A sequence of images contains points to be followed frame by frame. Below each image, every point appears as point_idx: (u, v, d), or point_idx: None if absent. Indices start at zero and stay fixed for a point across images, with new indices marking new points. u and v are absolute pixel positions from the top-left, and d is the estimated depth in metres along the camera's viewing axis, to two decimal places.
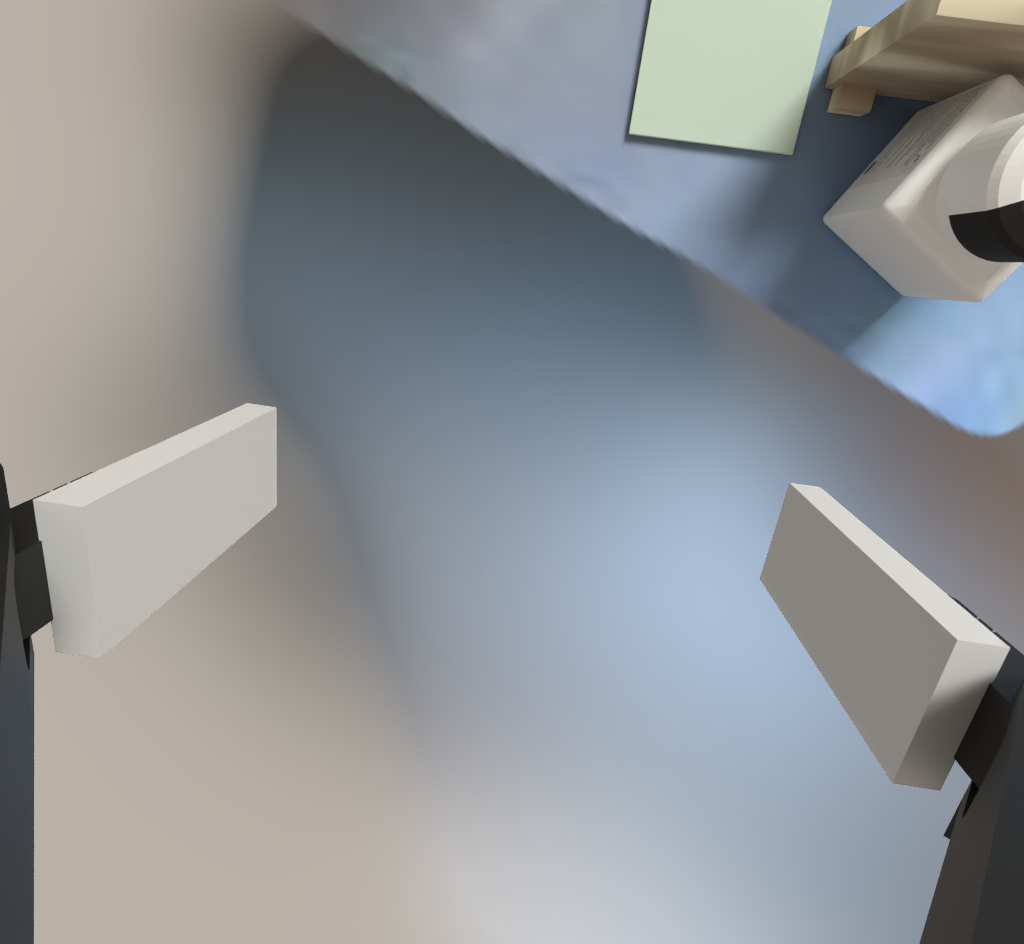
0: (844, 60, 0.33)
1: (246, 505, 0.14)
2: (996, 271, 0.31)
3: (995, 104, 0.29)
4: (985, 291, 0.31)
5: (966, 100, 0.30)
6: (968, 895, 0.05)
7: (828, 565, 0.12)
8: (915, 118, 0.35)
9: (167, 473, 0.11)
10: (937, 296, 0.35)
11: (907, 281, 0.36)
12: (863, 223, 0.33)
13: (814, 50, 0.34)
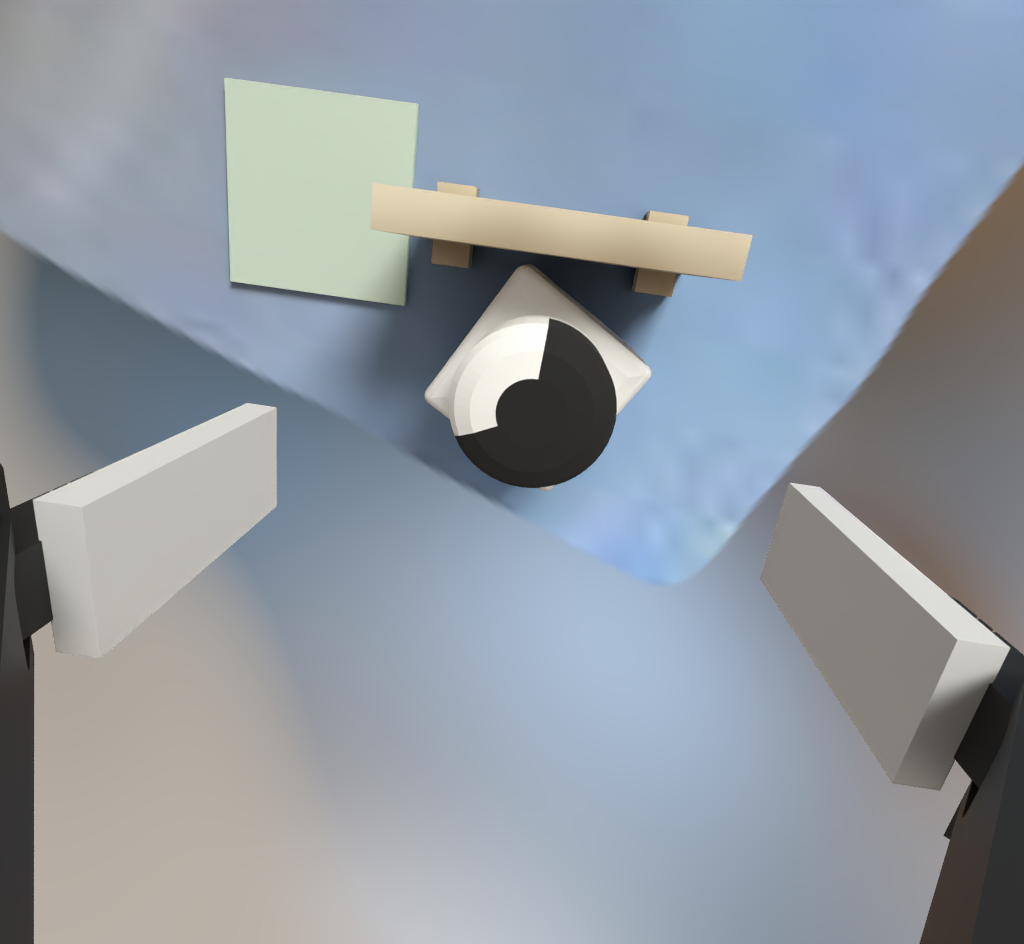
0: None
1: (246, 505, 0.14)
2: None
3: (512, 298, 0.26)
4: None
5: None
6: (968, 895, 0.05)
7: (828, 565, 0.12)
8: None
9: (167, 473, 0.11)
10: None
11: None
12: None
13: None
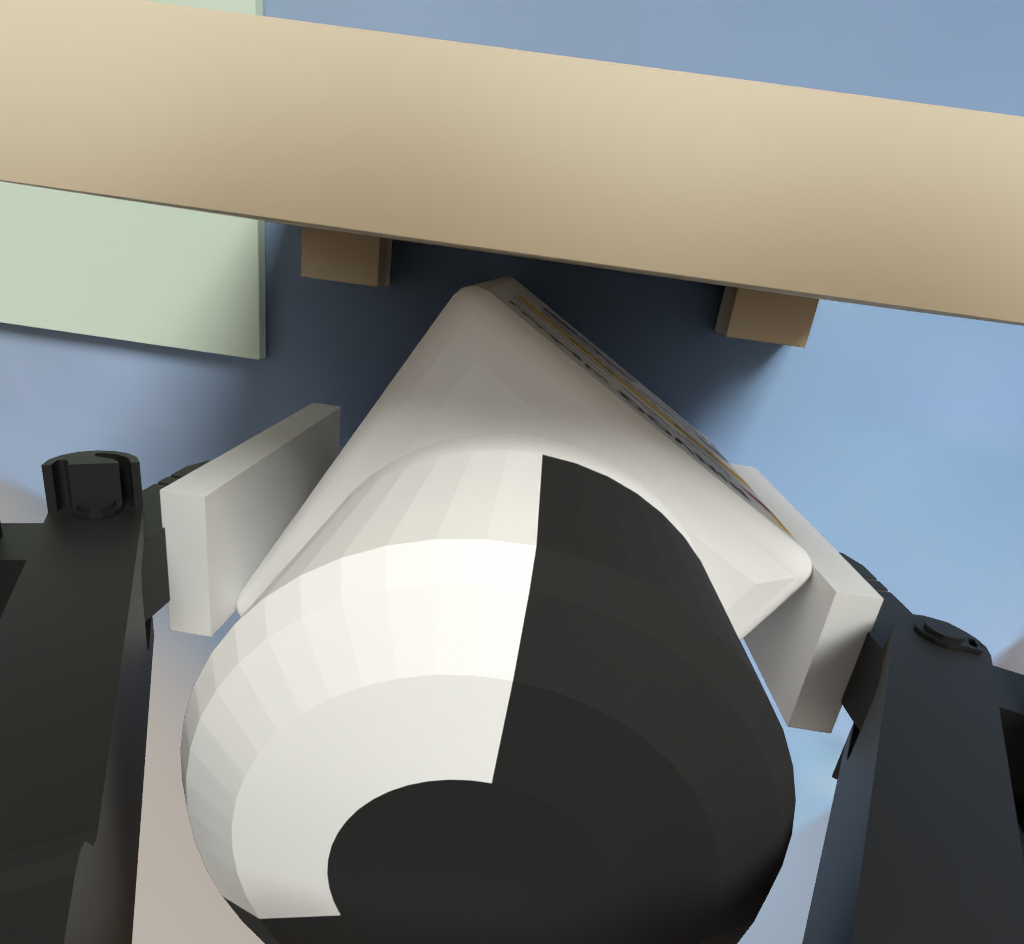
0: None
1: None
2: None
3: (442, 378, 0.09)
4: None
5: None
6: (855, 835, 0.06)
7: None
8: None
9: (262, 467, 0.12)
10: None
11: None
12: None
13: None
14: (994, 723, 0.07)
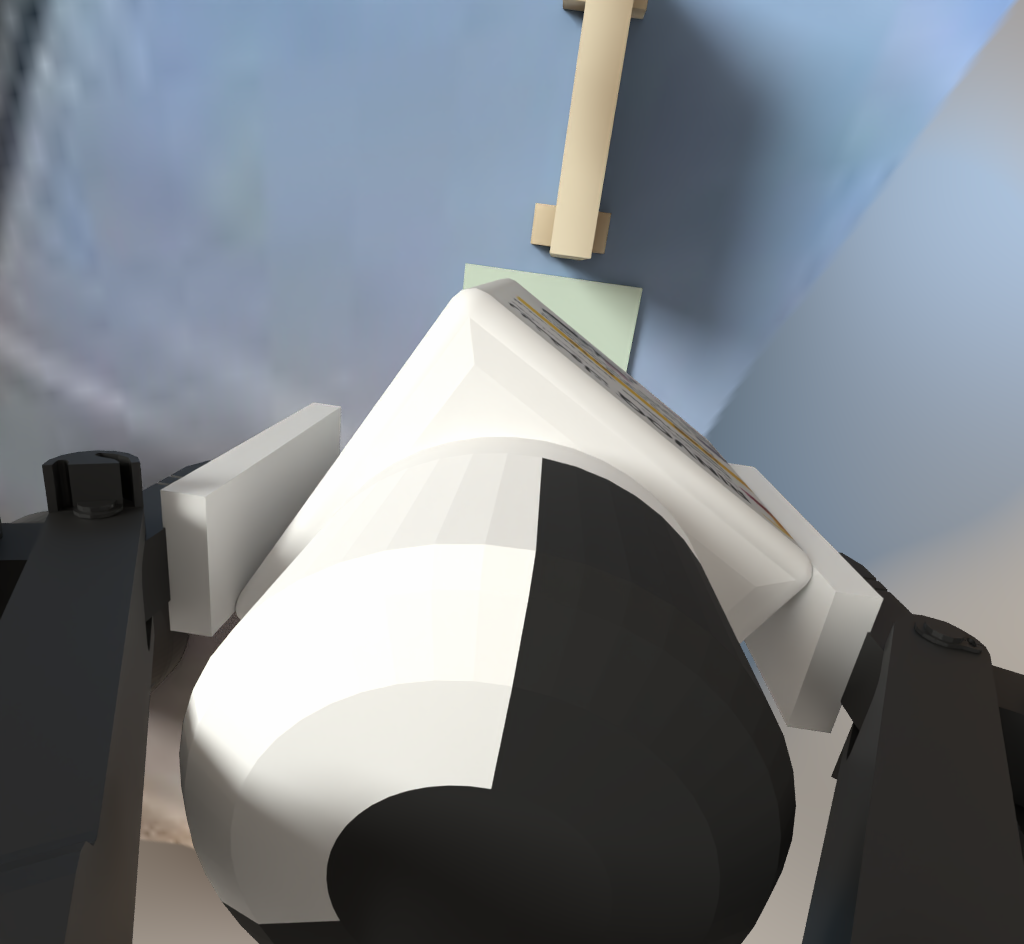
0: None
1: None
2: None
3: (441, 380, 0.09)
4: None
5: None
6: (854, 835, 0.06)
7: None
8: None
9: (263, 467, 0.12)
10: None
11: None
12: None
13: (546, 279, 0.33)
14: (993, 722, 0.07)
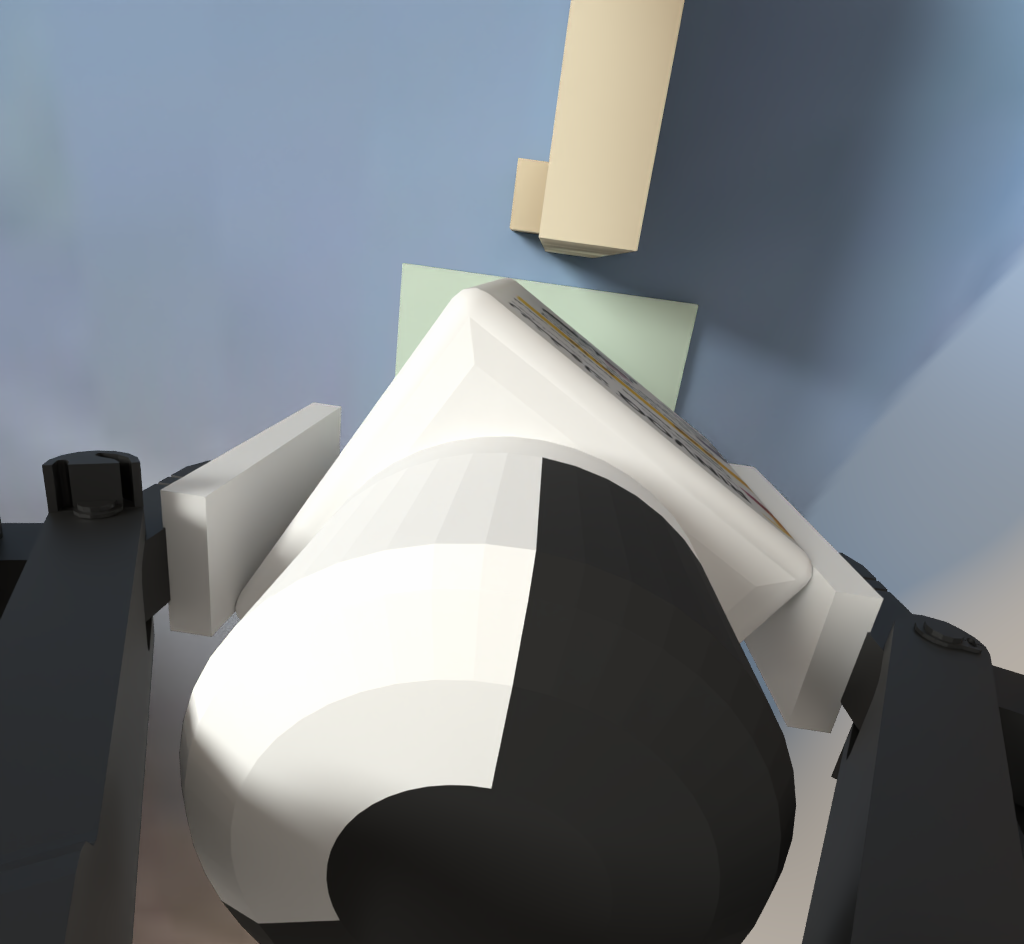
0: (568, 253, 0.18)
1: None
2: None
3: (441, 380, 0.09)
4: None
5: None
6: (855, 835, 0.06)
7: None
8: None
9: (263, 467, 0.12)
10: None
11: None
12: None
13: (538, 290, 0.20)
14: (993, 722, 0.07)
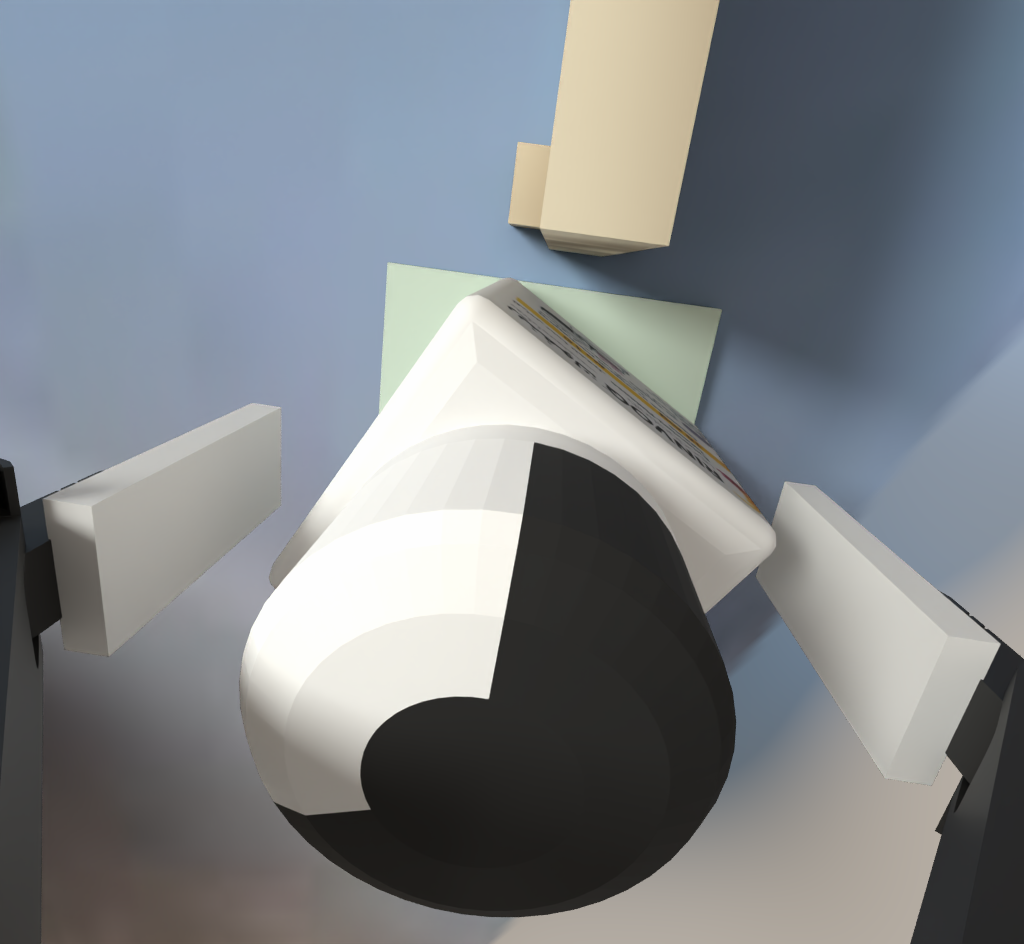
0: (575, 251, 0.16)
1: (251, 504, 0.14)
2: None
3: (448, 375, 0.11)
4: None
5: None
6: (960, 890, 0.05)
7: (822, 563, 0.12)
8: None
9: (174, 472, 0.11)
10: None
11: None
12: None
13: (540, 293, 0.18)
14: None
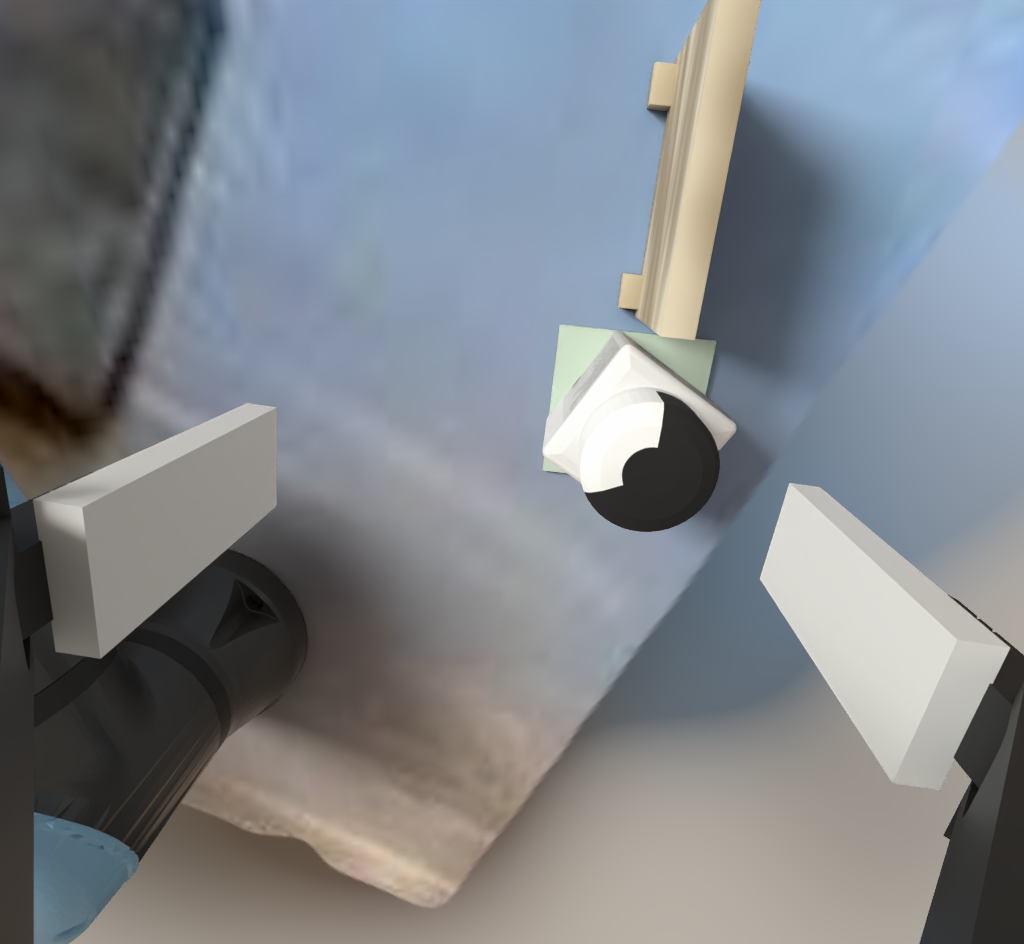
0: None
1: (246, 505, 0.14)
2: None
3: (620, 372, 0.31)
4: None
5: (610, 356, 0.33)
6: (968, 895, 0.05)
7: (828, 565, 0.12)
8: (607, 341, 0.37)
9: (167, 473, 0.11)
10: None
11: None
12: None
13: (631, 336, 0.38)
14: None
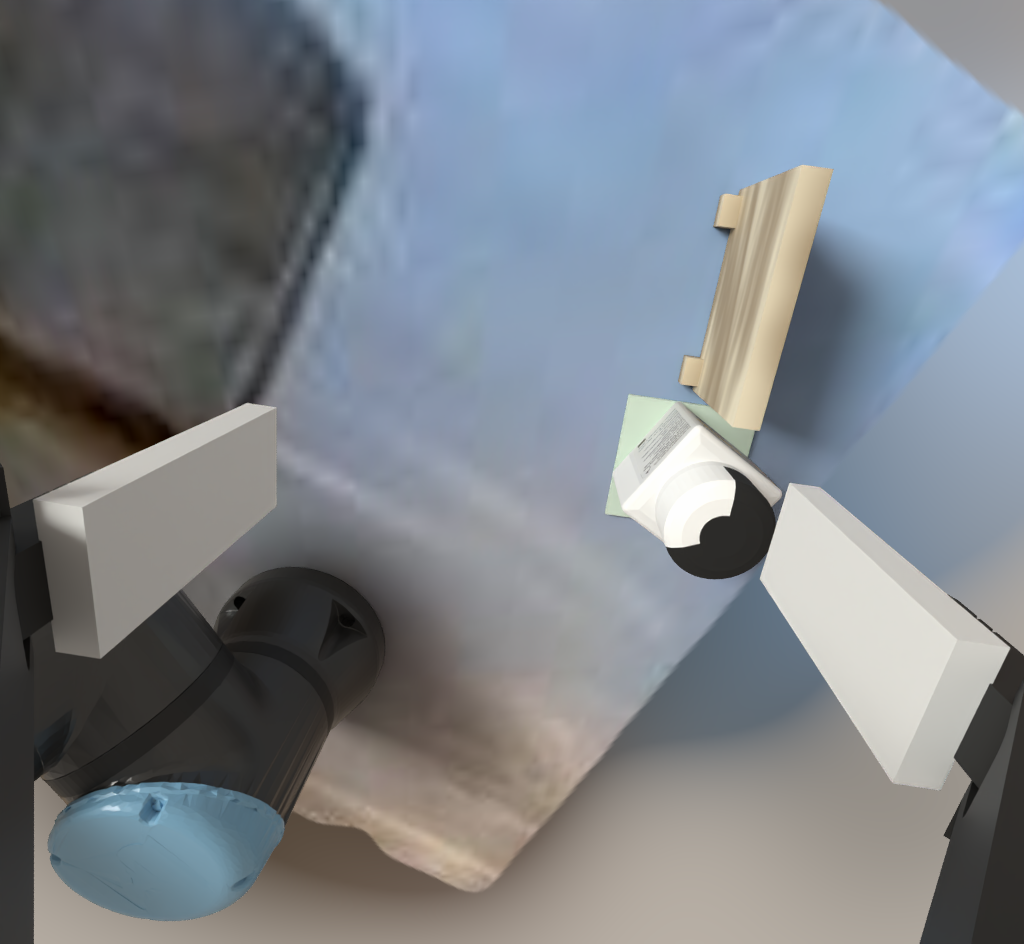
0: None
1: (246, 505, 0.14)
2: None
3: (691, 447, 0.39)
4: None
5: (681, 431, 0.40)
6: (968, 895, 0.05)
7: (828, 566, 0.12)
8: (670, 411, 0.45)
9: (167, 473, 0.11)
10: None
11: None
12: None
13: (688, 407, 0.46)
14: None
